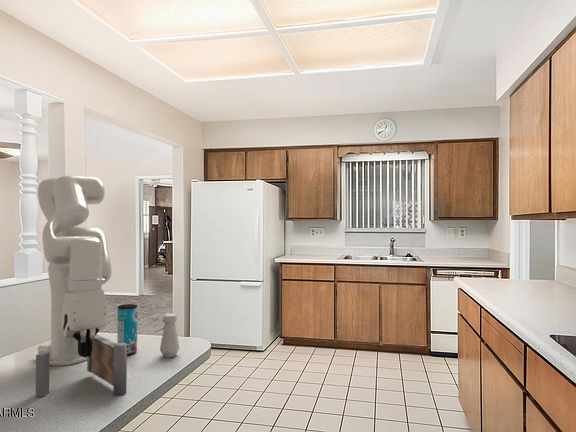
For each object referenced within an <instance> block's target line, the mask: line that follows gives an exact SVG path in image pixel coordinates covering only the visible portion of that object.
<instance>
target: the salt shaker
mask: <svg viewBox="0 0 576 432" xmlns="http://www.w3.org/2000/svg"><path fill="white" fill-rule="evenodd" d="M177 318H178V316H177V314H176V313H166V314H164V315H163V317H162V323H164V326H163V333H162V336H161V341H160V347H159V351H160V353H161V355H162V357H163V358H166V359H168V358H175V357H176V356H177V354H178V352H179V349H180V343H179V337H178V331H177V327H176V322H177V320H178V319H177Z"/></svg>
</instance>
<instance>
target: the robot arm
mask: <svg viewBox="0 0 576 432" xmlns="http://www.w3.org/2000/svg"><path fill="white" fill-rule="evenodd" d="M105 195H106V194H105V186H104V183H103V182H102V180H101V179H100V178H98V177H95V176H82V175H63V176H59V177H57V178H56V177H55V178H47V179H43V180H42V181H40V182H39V184H38V186H37V201H38V204H39V206H40V209H41V212H42V214H43V216H44V217H45V219H46V223H45V224H44V226H43V229H42V234H41V235H42V237H41V238H42V247H43V255H44V259H45V260H46V261H47V263H48V265H47V266H48V267H47V272H48V279H49V287H50V301H51V303H50V343H49V345H46V344H44V345H43V344H40V345H38V348H37V354H39V353H41V352H50V365H51V366H68V365H70V366H71V365H76V364H78V363H81V362H85V361H87V356H88V357H89V356H91V351H92V340H94V338H95V335H96V334H97V335H98V333H99V332H101V331H103V330H105V329H106V323H107V316H108V315H107V301H106V296H105V295H106V294H105V290H104V288H102V286H103V284H104V285H105V284H106V283H107V282H109V280H110V279H111V277H112V264H111V258H110V253H109V250H108V249H109V248H108V242H107V239H106V235H105V233H104V231H102V229H100V228H98V227H80V226H79V225H81V224H83V223H84V222H86V220H88V218H89V216H90V210H89V207H88V205H98V204H100V203H102V202H103V200H104V199H105Z"/></svg>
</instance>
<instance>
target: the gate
mask: <svg viewBox="0 0 576 432" xmlns="http://www.w3.org/2000/svg"><path fill="white" fill-rule="evenodd" d="M114 344H117V342H115V341H113V340H112V341H111V340H109V339H108V338H105V337H103V336H101V335H98V333H97V334H96V335H95V338H94V340H92V351H91V356H89V357H88V356H87V360H86V363H87V364H86V365H87V366H86V367H87V368H86V371H87V372H89V373H92V374H93V375H95V376H96V377H98V378H100V379H101V380H103V381H105V382H107V383H108V384H110V385H112V386H113V381H114Z"/></svg>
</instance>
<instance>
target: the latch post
mask: <svg viewBox="0 0 576 432" xmlns="http://www.w3.org/2000/svg"><path fill="white" fill-rule="evenodd" d="M48 394H50V352H41V353H37V354H36V355H35V397H37V398H38V397H41V398H42V397H45V396H47V395H48Z"/></svg>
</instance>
